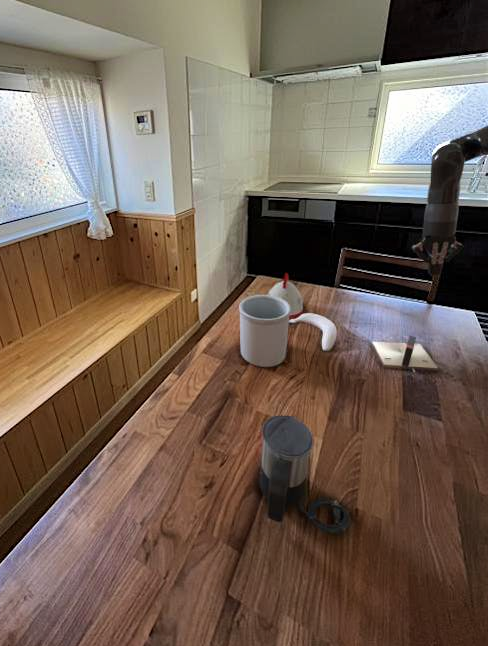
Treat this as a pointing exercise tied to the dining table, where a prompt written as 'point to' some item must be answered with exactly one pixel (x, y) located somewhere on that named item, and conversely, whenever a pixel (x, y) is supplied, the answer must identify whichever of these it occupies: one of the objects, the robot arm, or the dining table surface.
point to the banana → (323, 324)
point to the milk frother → (292, 473)
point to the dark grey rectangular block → (408, 351)
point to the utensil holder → (264, 329)
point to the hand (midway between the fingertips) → (433, 274)
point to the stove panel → (394, 355)
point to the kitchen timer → (289, 296)
